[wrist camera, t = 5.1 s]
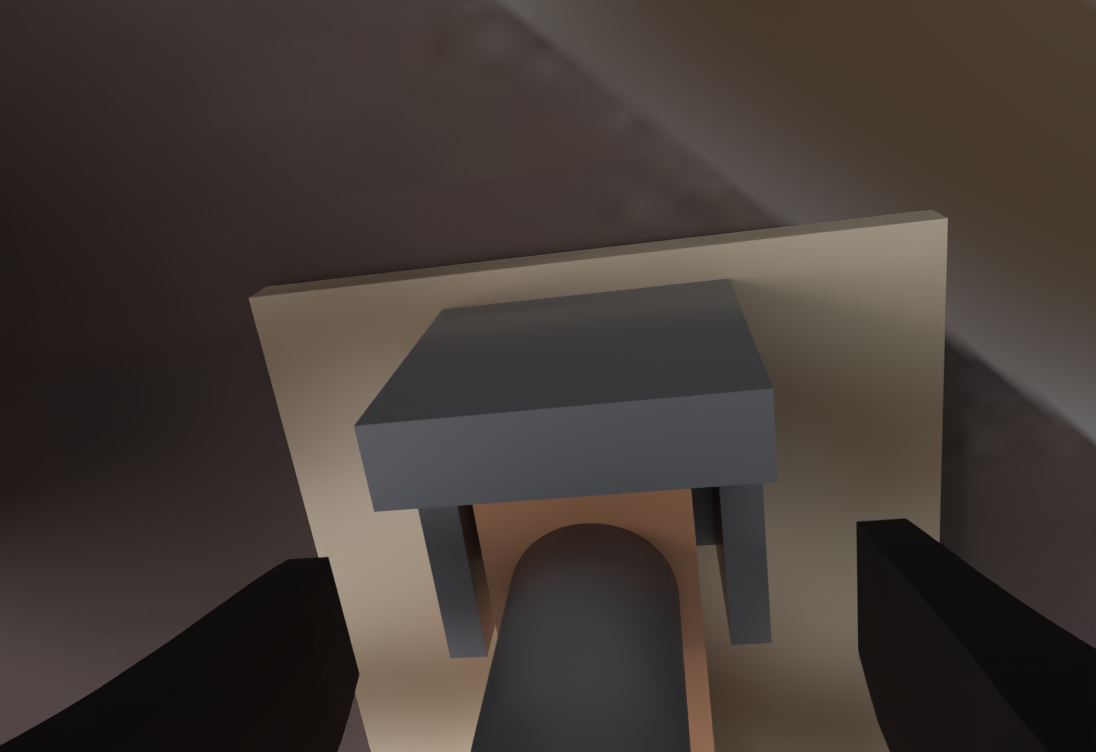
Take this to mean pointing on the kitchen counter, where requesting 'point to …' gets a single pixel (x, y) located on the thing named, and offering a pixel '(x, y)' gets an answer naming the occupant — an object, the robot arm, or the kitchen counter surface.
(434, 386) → the socket cradle
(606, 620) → the bar
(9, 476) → the kitchen counter surface
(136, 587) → the kitchen counter surface
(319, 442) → the base board
